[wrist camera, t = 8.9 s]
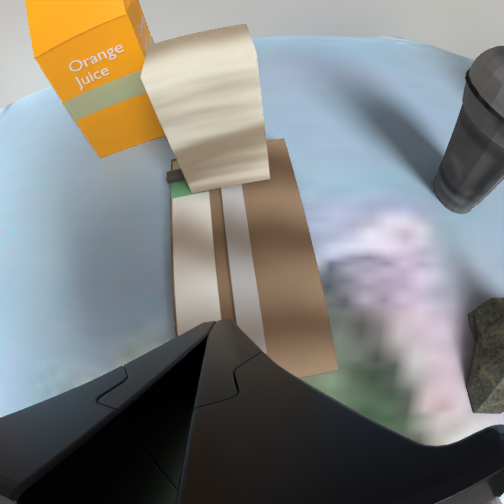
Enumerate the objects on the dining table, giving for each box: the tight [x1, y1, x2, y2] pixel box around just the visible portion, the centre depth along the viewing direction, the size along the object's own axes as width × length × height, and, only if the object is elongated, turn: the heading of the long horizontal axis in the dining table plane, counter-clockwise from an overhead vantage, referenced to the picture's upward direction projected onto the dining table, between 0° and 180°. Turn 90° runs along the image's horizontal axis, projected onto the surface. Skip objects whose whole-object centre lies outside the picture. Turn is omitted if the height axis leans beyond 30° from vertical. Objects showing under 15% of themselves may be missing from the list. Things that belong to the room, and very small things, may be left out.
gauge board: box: [171, 138, 338, 378], centre depth 23 cm, size 19×10×2 cm, turn 8°
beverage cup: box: [434, 46, 504, 214], centre depth 15 cm, size 7×7×20 cm
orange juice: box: [26, 0, 166, 158], centre depth 22 cm, size 8×9×20 cm
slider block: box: [140, 24, 270, 193], centre depth 19 cm, size 4×8×11 cm, turn 98°
